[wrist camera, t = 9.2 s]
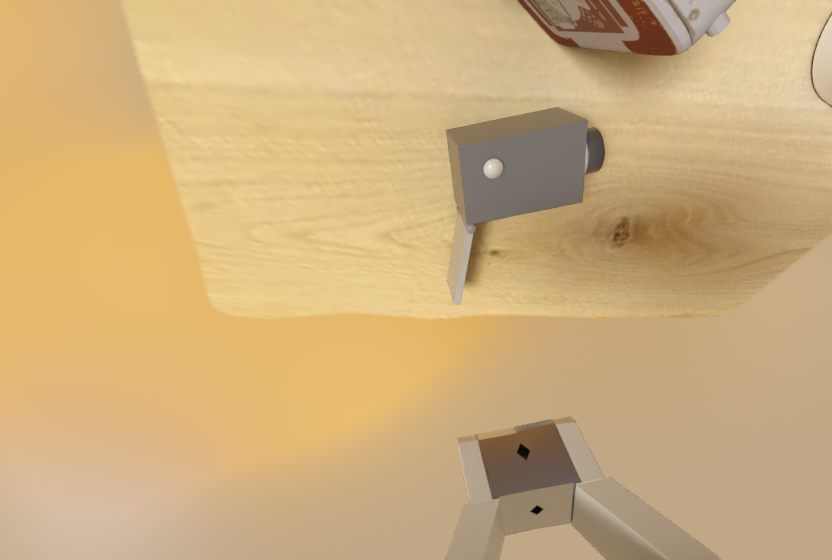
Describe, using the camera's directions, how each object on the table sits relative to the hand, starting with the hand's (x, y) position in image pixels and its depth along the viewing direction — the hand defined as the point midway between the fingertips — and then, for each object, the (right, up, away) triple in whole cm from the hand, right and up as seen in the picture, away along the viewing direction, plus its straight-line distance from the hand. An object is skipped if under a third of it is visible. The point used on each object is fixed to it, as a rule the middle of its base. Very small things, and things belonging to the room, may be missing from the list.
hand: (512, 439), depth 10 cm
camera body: (+8, +18, +34) cm, 39 cm away
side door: (+2, +9, +38) cm, 39 cm away
